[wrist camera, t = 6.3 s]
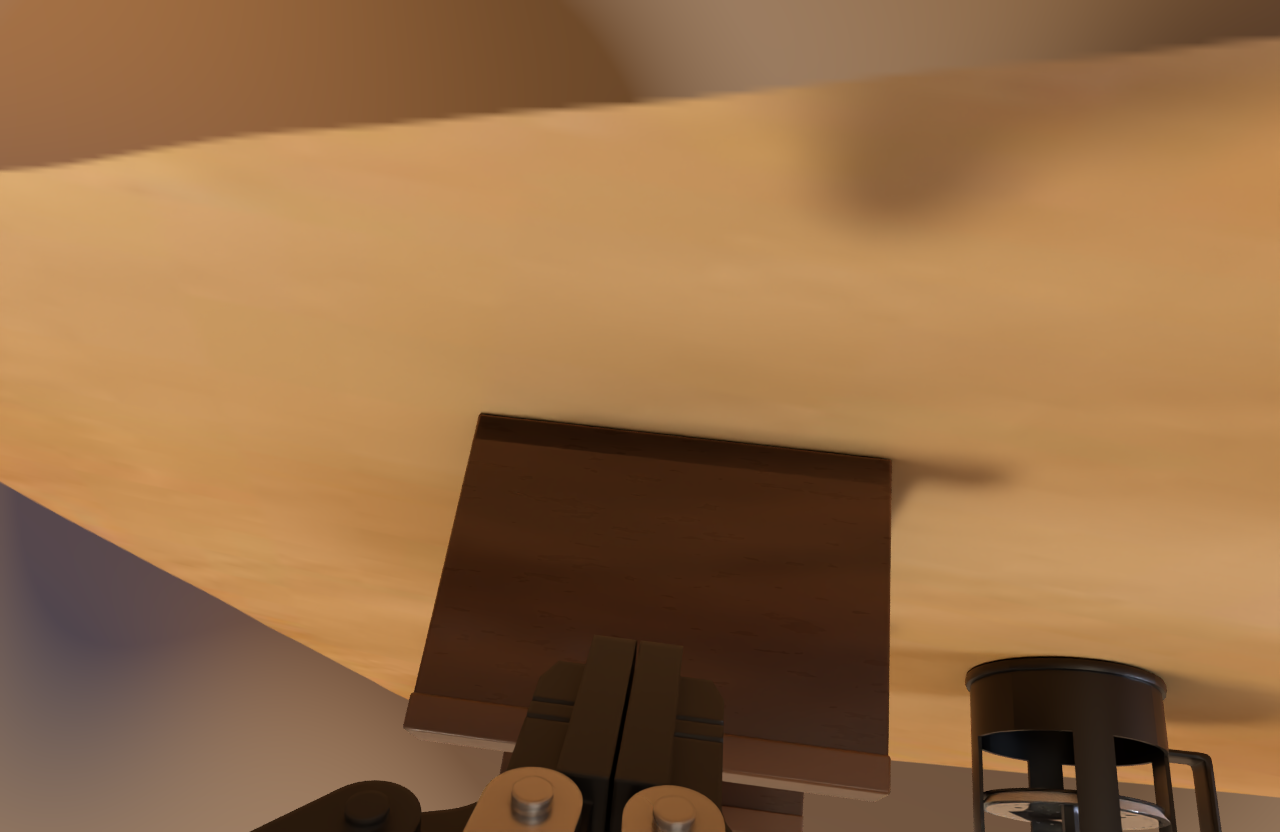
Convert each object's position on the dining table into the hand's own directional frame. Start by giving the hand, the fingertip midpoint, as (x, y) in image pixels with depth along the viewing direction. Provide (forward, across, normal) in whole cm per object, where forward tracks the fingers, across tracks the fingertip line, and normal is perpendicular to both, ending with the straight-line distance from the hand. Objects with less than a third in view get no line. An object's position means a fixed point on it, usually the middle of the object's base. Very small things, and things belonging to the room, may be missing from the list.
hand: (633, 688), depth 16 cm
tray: (+21, 0, +7) cm, 22 cm away
